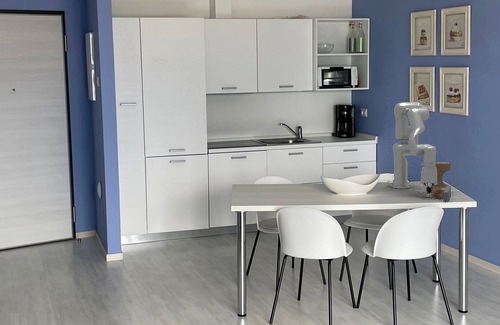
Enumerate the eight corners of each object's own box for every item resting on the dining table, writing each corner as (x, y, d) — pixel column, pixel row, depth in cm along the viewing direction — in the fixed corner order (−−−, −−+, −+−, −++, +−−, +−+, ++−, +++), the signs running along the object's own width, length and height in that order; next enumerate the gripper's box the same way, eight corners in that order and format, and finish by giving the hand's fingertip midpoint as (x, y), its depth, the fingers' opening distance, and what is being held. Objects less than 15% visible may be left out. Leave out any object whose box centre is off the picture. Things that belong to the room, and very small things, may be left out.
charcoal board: (443, 201, 434) (443, 192, 434) (446, 194, 457) (446, 185, 456) (447, 201, 434) (447, 192, 433) (450, 194, 456) (450, 185, 455)
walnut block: (431, 198, 445) (431, 189, 444) (432, 196, 452) (433, 187, 451) (444, 199, 442) (444, 190, 441) (445, 196, 449) (445, 187, 448)
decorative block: (446, 191, 468) (447, 161, 465) (449, 192, 463) (450, 163, 460) (430, 191, 467) (431, 162, 464) (433, 193, 461) (434, 163, 458)
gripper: (416, 165, 445) (416, 193, 448) (440, 166, 440) (439, 195, 442) (418, 163, 452) (417, 191, 455) (442, 164, 447) (441, 192, 449)
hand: (428, 193), depth 449 cm, fingers closed
